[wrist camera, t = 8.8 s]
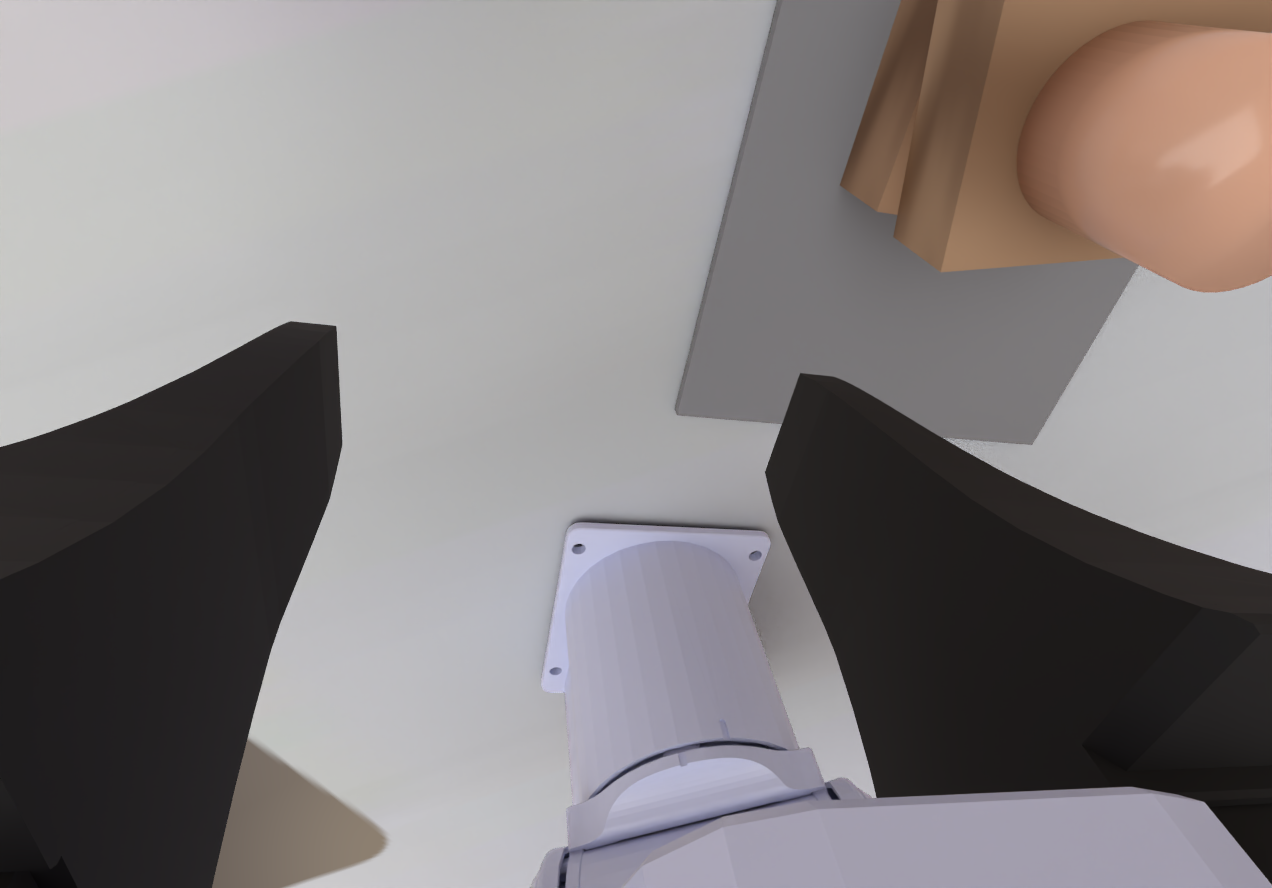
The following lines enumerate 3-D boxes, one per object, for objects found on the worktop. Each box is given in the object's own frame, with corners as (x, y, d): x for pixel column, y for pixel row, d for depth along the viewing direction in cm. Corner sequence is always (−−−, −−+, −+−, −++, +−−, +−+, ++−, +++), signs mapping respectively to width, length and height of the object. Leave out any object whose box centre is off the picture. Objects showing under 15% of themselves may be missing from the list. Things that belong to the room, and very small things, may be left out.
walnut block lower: (1020, 215, 21) (1073, 243, 19) (839, 185, 20) (876, 211, 18) (1132, -19, 18) (1211, -15, 16) (925, -74, 17) (982, -77, 15)
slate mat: (1025, 438, 27) (1032, 444, 27) (674, 408, 24) (677, 415, 24) (1321, -68, 18) (1336, -69, 18) (832, -218, 15) (839, -222, 15)
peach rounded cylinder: (1139, 230, 16) (1293, 298, 13) (986, 216, 16) (1110, 285, 12) (1241, 34, 14) (1457, 59, 11) (1070, 6, 14) (1247, 24, 10)
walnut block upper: (1105, 221, 19) (1176, 253, 17) (893, 237, 18) (940, 272, 16) (1203, -52, 16) (1306, -52, 14) (946, -43, 15) (1014, -42, 13)
